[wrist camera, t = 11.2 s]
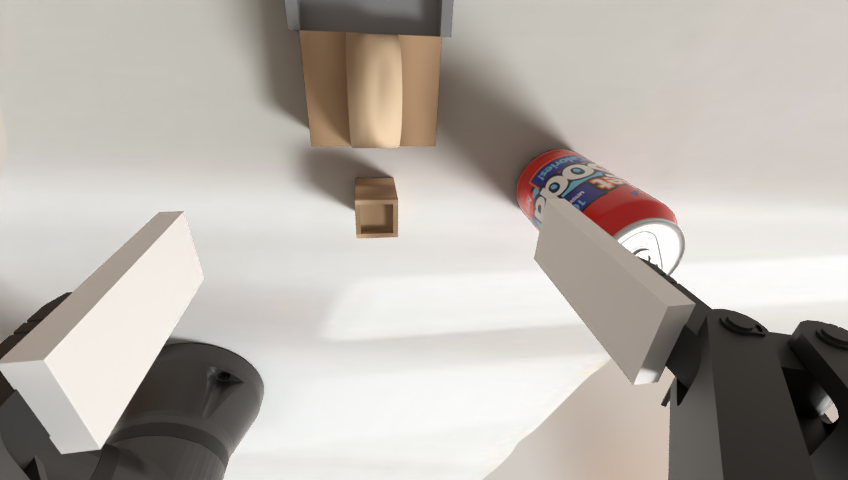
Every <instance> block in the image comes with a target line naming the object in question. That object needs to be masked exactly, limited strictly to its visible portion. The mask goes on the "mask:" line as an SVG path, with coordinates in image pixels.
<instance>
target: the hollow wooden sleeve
mask: <svg viewBox="0 0 848 480" xmlns="http://www.w3.org/2000/svg"><path fill="white" fill-rule="evenodd" d="M355 216H356V234H357V238H381V237H398V198H397V193H396V188H395V183H394V179H393V178H355Z"/></svg>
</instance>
